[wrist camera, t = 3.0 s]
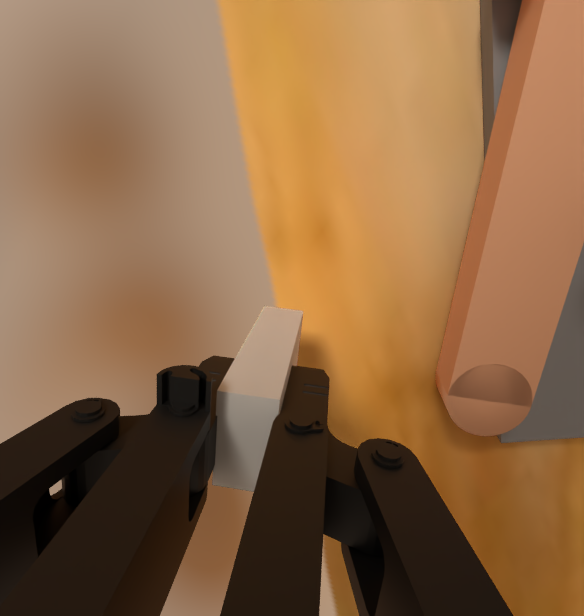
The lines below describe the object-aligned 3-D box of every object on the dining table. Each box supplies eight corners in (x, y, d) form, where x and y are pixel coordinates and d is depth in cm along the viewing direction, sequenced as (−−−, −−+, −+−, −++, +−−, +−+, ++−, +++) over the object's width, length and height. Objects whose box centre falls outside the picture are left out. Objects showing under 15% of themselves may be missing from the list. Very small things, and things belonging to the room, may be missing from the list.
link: (535, -236, 12) (572, -313, 10) (734, -228, 11) (812, -307, 10) (402, 398, 18) (410, 425, 16) (528, 416, 18) (549, 445, 16)
